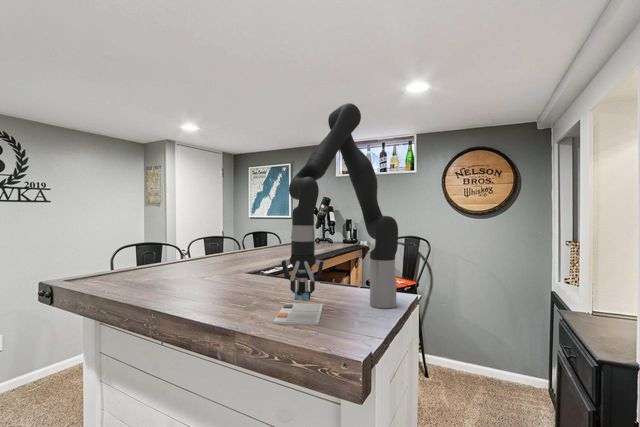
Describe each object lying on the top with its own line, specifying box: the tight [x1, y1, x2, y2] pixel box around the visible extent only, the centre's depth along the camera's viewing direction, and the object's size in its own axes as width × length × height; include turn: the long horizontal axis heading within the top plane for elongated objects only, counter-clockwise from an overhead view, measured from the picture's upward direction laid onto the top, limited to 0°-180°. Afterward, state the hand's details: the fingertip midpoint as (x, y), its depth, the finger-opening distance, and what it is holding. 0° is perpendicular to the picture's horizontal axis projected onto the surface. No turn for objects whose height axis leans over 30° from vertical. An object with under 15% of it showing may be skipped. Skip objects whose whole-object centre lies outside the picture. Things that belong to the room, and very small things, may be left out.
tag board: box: [272, 302, 324, 326], centre depth 104 cm, size 14×20×1 cm
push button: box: [294, 270, 315, 302], centre depth 99 cm, size 7×5×10 cm
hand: (302, 292), depth 99 cm, fingers closed on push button, 5 cm apart
